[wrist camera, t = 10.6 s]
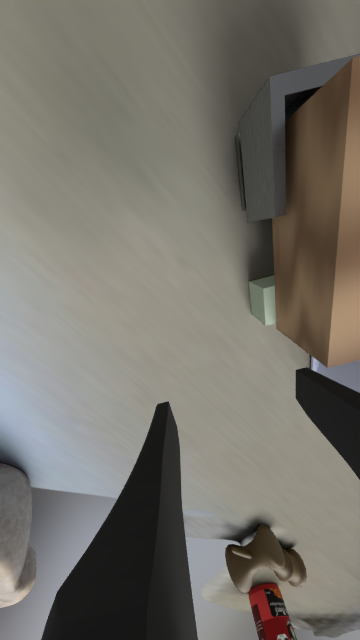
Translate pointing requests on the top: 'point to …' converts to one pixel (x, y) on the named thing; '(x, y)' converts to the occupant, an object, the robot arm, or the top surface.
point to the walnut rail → (322, 224)
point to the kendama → (264, 560)
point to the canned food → (270, 613)
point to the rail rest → (263, 299)
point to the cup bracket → (274, 137)
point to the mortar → (15, 536)
